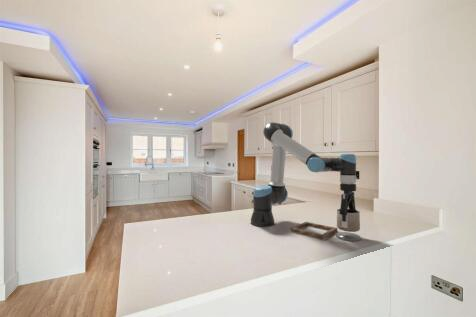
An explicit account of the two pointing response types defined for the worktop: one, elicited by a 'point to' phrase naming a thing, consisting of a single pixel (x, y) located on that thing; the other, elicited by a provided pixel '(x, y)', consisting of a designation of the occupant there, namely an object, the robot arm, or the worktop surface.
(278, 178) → the robot arm
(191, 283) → the worktop surface
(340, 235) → the slate trivet
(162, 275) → the worktop surface
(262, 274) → the worktop surface
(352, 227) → the planter
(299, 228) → the holder frame
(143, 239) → the worktop surface
